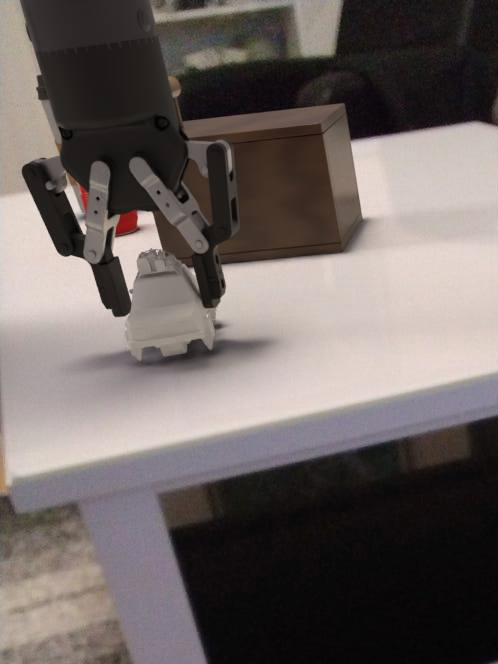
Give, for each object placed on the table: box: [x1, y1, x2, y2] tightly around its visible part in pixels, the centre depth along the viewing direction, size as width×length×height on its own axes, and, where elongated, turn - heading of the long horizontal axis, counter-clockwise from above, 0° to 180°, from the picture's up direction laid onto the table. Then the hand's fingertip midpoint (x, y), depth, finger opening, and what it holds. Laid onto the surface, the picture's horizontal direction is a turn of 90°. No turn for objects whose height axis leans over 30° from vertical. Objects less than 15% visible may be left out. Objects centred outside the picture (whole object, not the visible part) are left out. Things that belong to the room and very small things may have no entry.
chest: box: [151, 112, 364, 268], centre depth 97 cm, size 17×14×10 cm
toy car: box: [124, 248, 219, 362], centre depth 72 cm, size 6×12×7 cm, turn 10°
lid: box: [168, 75, 347, 143], centre depth 93 cm, size 18×14×5 cm
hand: (167, 308), depth 72 cm, fingers closed on toy car, 6 cm apart
